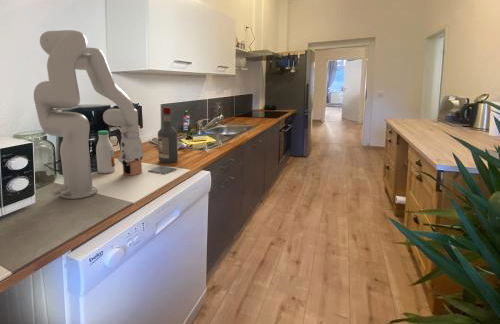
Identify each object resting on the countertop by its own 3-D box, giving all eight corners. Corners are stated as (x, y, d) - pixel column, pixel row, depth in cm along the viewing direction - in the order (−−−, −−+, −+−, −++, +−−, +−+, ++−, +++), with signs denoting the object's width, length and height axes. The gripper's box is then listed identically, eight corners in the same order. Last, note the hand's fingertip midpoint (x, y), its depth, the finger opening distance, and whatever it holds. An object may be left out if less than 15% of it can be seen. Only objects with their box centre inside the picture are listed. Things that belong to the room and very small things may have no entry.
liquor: (170, 158, 181) (169, 106, 173) (180, 161, 175) (178, 108, 168) (156, 160, 174) (154, 107, 167) (166, 164, 168) (164, 108, 161)
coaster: (164, 174, 149) (164, 173, 149) (148, 171, 153) (147, 170, 153) (176, 169, 158) (176, 168, 158) (161, 167, 162) (161, 165, 162)
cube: (132, 175, 145) (132, 163, 144) (123, 173, 148) (122, 161, 146) (141, 172, 151) (141, 160, 149) (132, 170, 153) (131, 159, 151)
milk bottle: (108, 174, 146) (105, 132, 141) (94, 172, 148) (90, 131, 143) (118, 170, 154) (115, 130, 149) (104, 168, 155) (101, 129, 150)
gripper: (122, 138, 135) (124, 177, 140) (149, 133, 151) (151, 168, 155) (109, 136, 138) (112, 175, 143) (137, 132, 154) (139, 166, 158)
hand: (132, 171), depth 149 cm, fingers closed on cube, 6 cm apart
